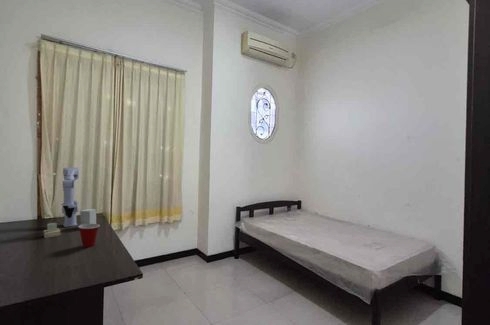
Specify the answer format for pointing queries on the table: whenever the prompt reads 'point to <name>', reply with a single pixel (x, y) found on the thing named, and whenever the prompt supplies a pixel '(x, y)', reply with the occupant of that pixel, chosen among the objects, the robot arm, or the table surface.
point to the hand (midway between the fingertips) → (68, 216)
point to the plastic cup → (88, 234)
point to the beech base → (51, 233)
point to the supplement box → (88, 216)
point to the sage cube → (51, 227)
